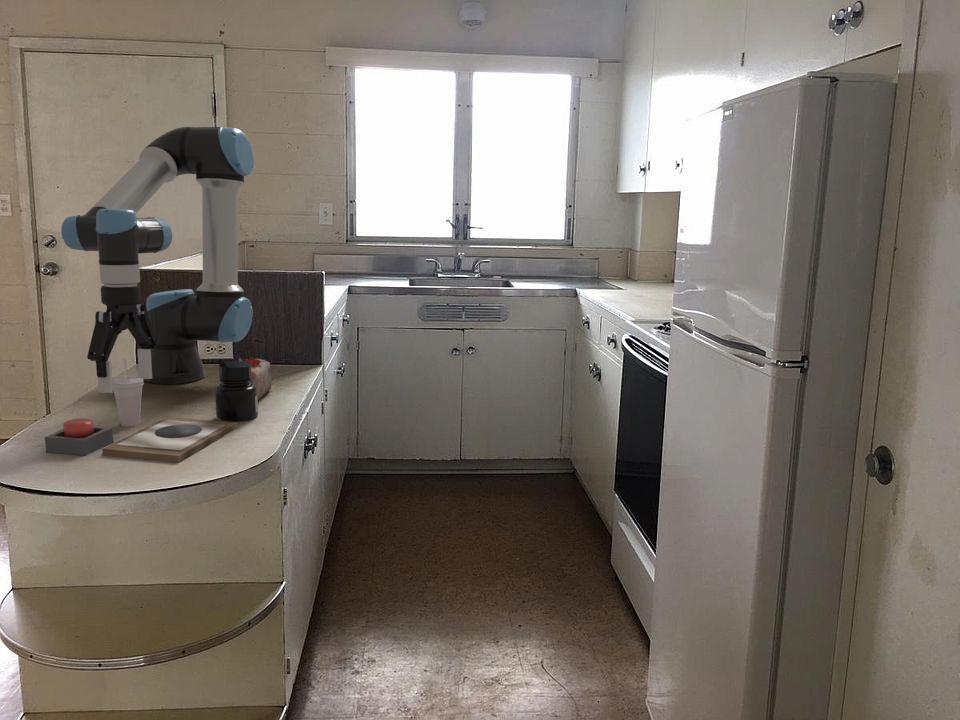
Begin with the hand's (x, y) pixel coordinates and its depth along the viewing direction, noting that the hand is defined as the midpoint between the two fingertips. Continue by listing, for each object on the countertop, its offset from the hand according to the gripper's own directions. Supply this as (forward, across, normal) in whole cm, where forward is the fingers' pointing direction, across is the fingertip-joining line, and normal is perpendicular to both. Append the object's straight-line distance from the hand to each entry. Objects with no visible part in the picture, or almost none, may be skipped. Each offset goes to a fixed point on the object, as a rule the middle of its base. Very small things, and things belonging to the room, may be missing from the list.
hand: (126, 385), depth 168 cm
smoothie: (+9, 0, 0) cm, 9 cm away
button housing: (+9, +16, 0) cm, 18 cm away
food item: (+8, -28, +14) cm, 32 cm away
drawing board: (+9, +8, +15) cm, 19 cm away
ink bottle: (+9, -12, +19) cm, 24 cm away
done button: (+6, +16, 0) cm, 17 cm away
